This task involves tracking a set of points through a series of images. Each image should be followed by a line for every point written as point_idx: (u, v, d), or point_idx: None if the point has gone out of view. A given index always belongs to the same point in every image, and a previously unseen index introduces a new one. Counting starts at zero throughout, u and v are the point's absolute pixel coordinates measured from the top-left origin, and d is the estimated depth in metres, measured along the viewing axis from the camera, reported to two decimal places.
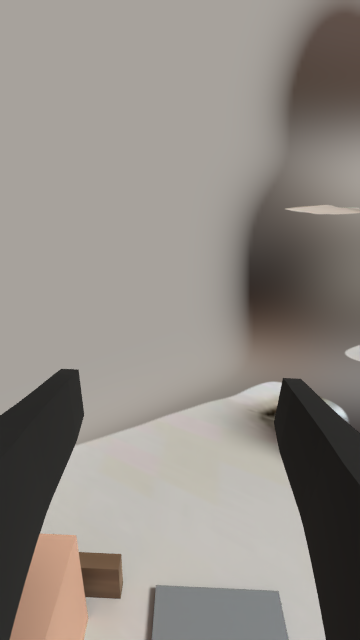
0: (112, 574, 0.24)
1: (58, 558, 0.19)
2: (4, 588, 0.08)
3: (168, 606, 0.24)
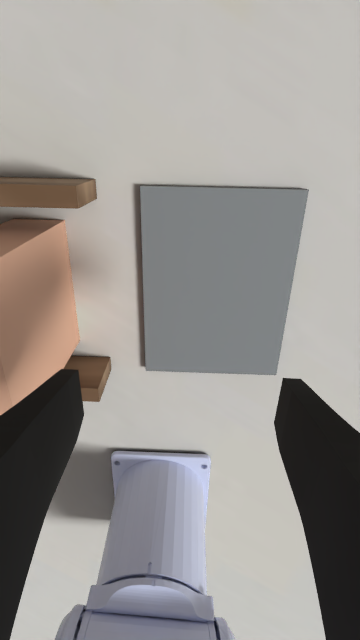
0: None
1: None
2: (4, 588, 0.08)
3: (158, 211, 0.19)
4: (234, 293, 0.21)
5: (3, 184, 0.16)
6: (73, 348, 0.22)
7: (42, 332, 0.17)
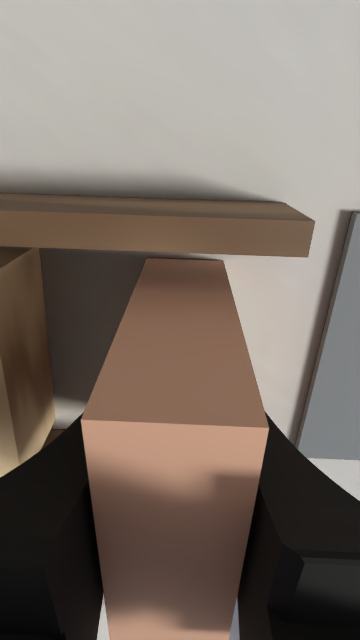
0: None
1: (225, 482, 0.06)
2: (94, 593, 0.08)
3: None
4: None
5: (190, 217, 0.09)
6: None
7: None
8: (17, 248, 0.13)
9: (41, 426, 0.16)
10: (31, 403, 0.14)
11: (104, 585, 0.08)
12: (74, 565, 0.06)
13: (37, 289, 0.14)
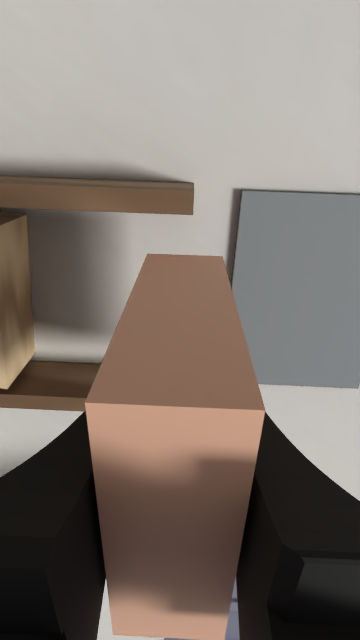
0: None
1: (223, 464, 0.06)
2: (94, 593, 0.08)
3: (258, 218, 0.18)
4: (326, 304, 0.20)
5: (115, 188, 0.15)
6: None
7: None
8: (11, 215, 0.18)
9: (23, 352, 0.21)
10: (16, 330, 0.20)
11: (106, 568, 0.08)
12: (74, 565, 0.06)
13: (24, 247, 0.19)
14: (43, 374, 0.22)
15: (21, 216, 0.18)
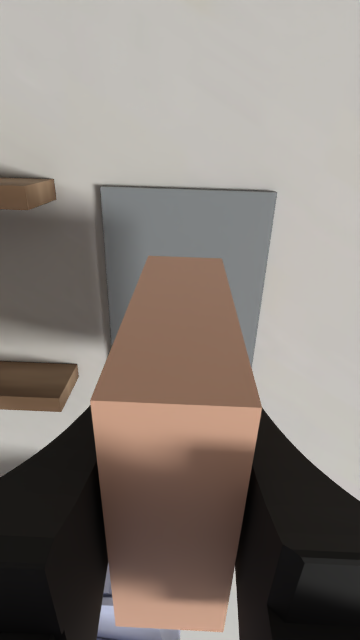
0: None
1: (222, 460, 0.07)
2: (94, 593, 0.08)
3: (120, 213, 0.18)
4: None
5: None
6: None
7: None
8: None
9: None
10: None
11: (109, 560, 0.08)
12: (74, 565, 0.06)
13: None
14: None
15: None
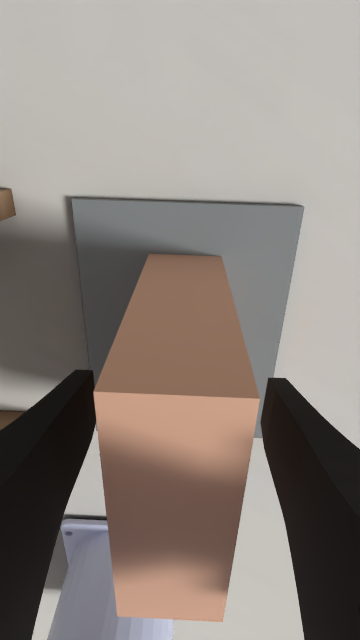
0: None
1: (222, 450, 0.07)
2: (26, 589, 0.08)
3: (99, 233, 0.14)
4: None
5: None
6: None
7: None
8: None
9: None
10: None
11: (111, 550, 0.08)
12: None
13: None
14: None
15: None
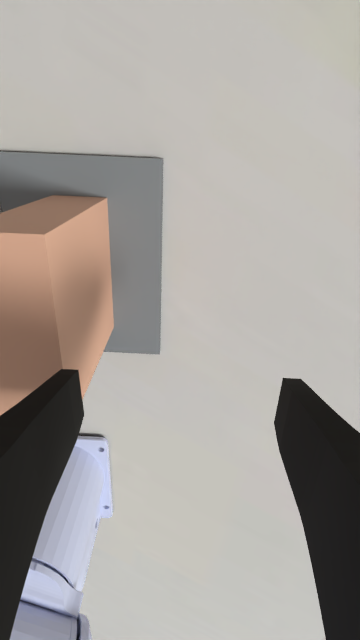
0: None
1: (32, 273, 0.11)
2: (4, 588, 0.08)
3: (13, 178, 0.19)
4: None
5: None
6: (109, 334, 0.21)
7: (88, 313, 0.16)
8: None
9: None
10: None
11: None
12: None
13: None
14: None
15: None
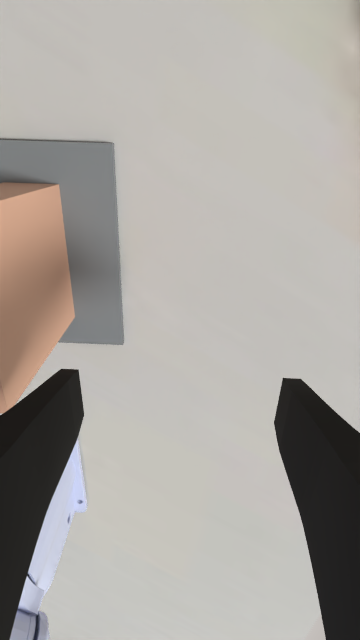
0: None
1: None
2: (4, 588, 0.08)
3: None
4: None
5: None
6: (67, 324, 0.21)
7: (33, 299, 0.16)
8: None
9: None
10: None
11: None
12: None
13: None
14: None
15: None
